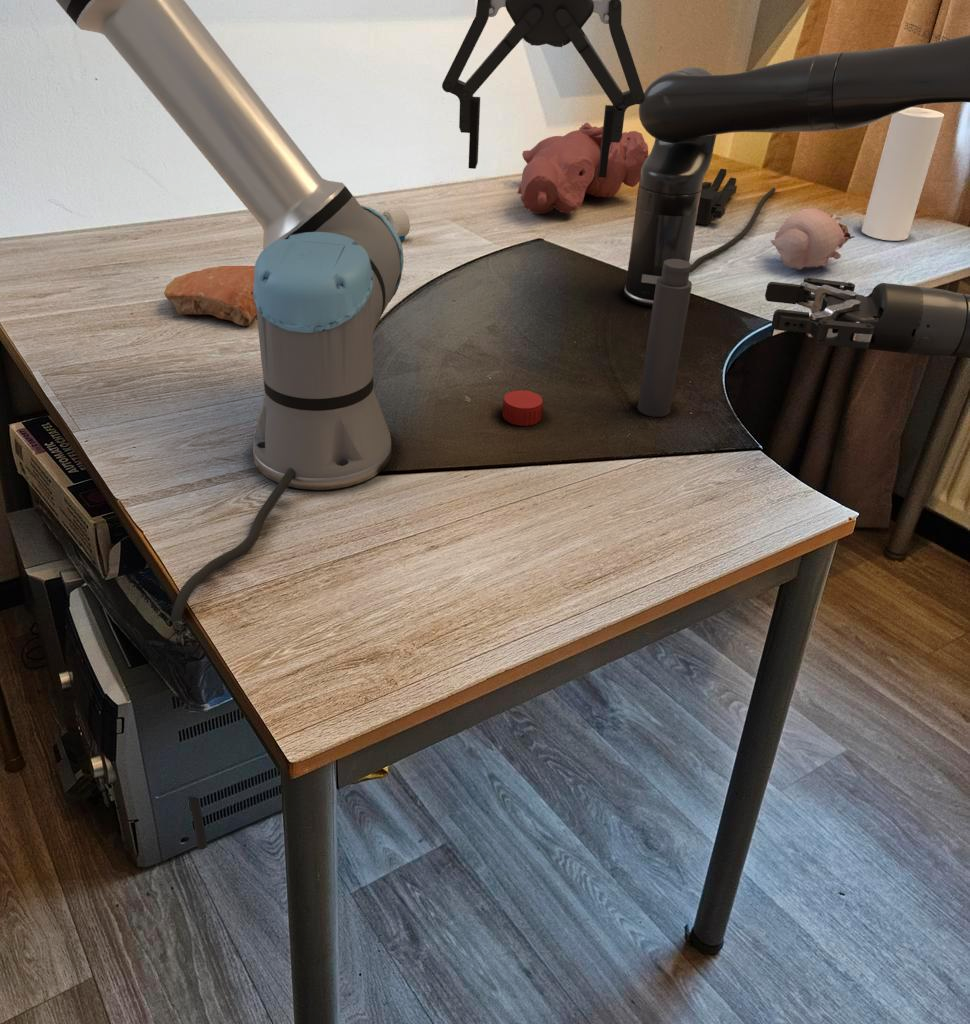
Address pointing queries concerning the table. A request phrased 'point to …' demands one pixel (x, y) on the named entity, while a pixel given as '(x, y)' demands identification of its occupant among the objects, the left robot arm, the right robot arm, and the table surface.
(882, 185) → the tall white tube
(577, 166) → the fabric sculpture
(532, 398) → the lid
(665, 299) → the bottle
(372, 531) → the table surface
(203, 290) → the ceramic shard
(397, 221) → the electric motor
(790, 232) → the toy
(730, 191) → the black forked piece
